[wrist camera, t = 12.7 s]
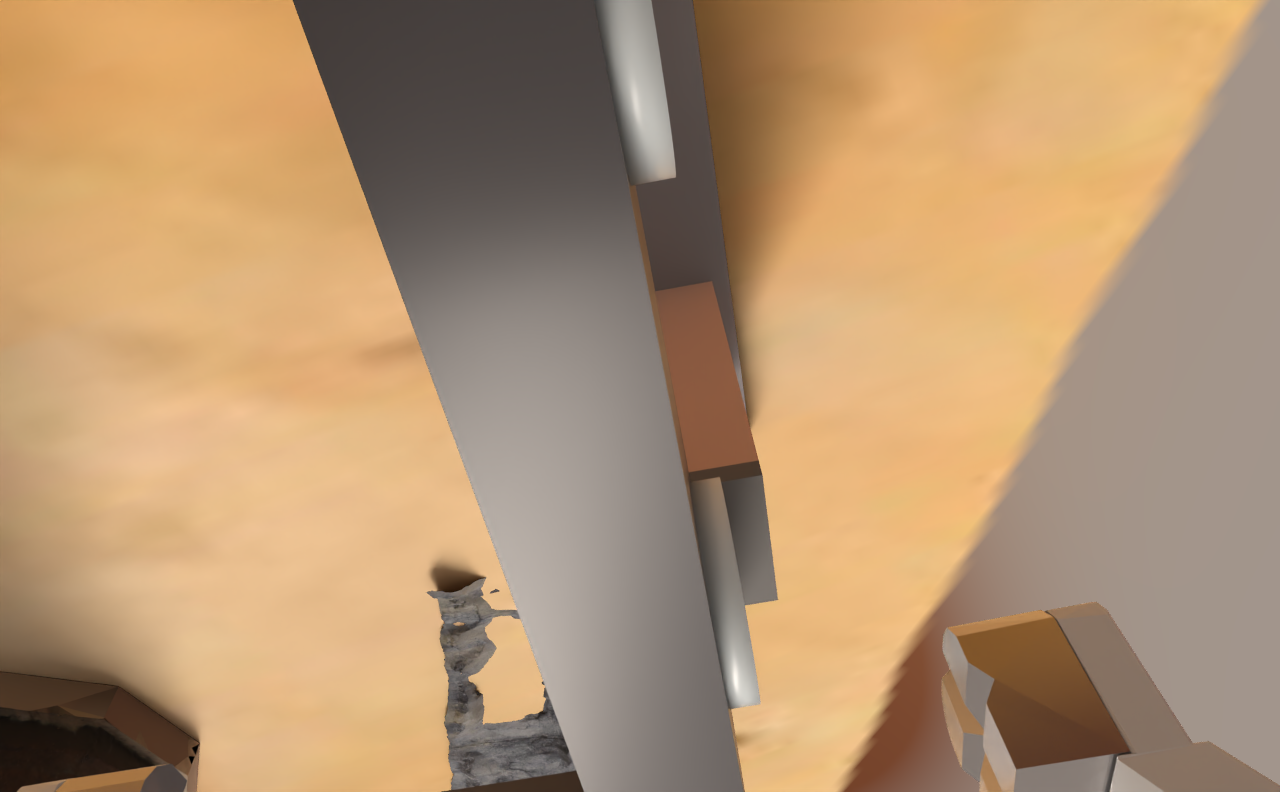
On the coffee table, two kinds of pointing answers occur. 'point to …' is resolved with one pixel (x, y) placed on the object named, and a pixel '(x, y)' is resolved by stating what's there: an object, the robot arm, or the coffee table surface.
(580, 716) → the glasses
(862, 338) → the coffee table surface
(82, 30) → the coffee table surface
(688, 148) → the stand
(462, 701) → the driftwood
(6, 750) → the bird statue
